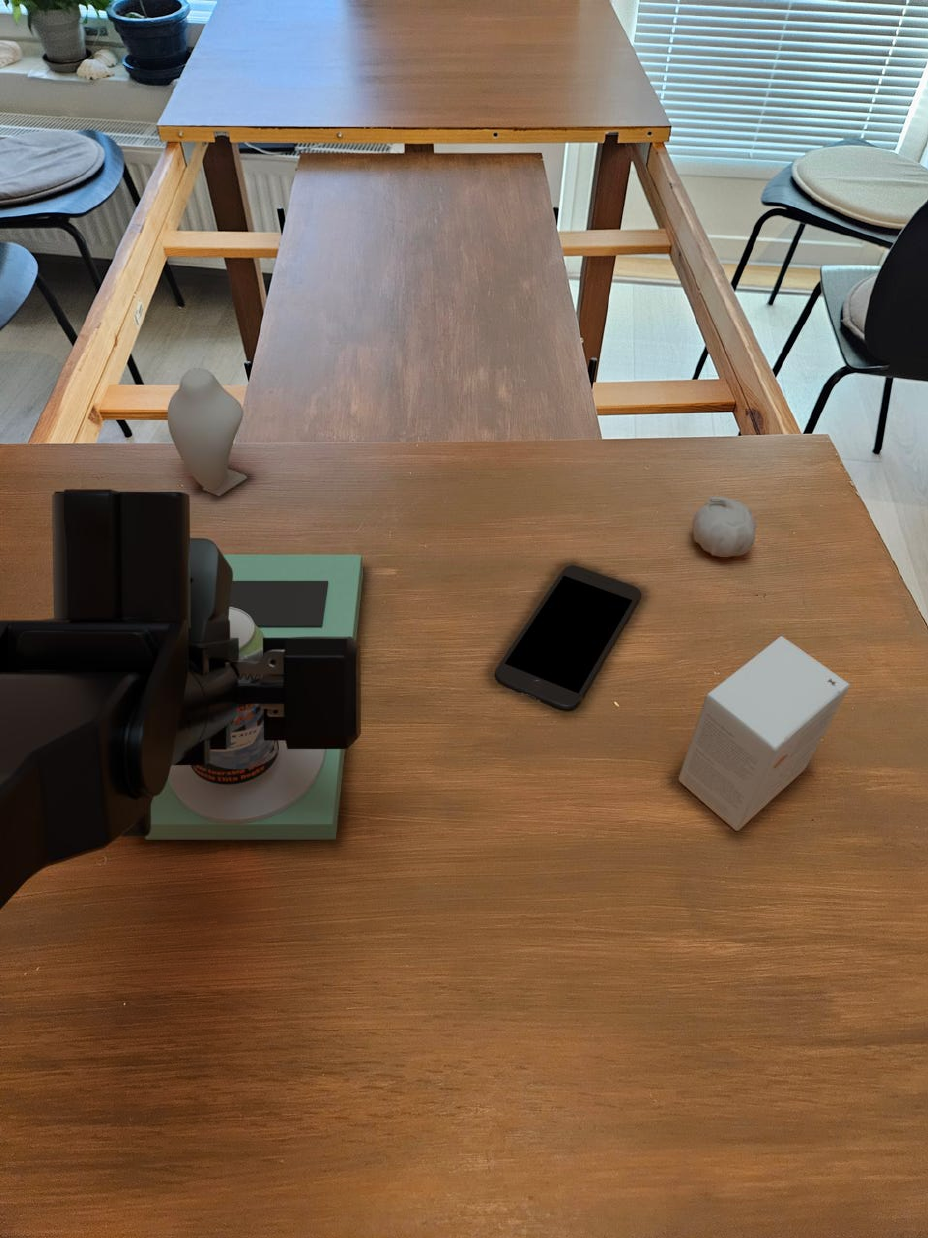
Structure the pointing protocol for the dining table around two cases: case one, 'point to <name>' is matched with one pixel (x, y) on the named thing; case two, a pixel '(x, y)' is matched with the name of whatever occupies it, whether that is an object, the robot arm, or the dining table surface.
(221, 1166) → the dining table surface
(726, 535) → the garlic
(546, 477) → the dining table surface
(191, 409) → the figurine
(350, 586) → the scale
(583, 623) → the smartphone
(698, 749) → the small box
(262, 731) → the beverage can
